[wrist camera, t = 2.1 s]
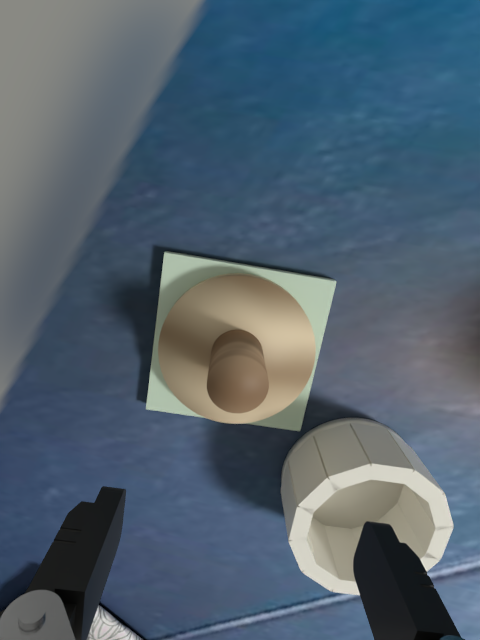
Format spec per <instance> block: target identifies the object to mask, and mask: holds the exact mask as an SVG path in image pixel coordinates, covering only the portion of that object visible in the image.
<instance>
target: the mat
mask: <svg viewBox="0 0 480 640" xmlns="http://www.w3.org/2000/svg"><path fill="white" fill-rule="evenodd" d="M229 273H244V274H252V275H256V276H260V277H263V278H266V279H268V280H271V281H272V282H274V283H276V284H278V285H280V286H281V287H282V288H284V289H285V290H287V291H288V292H289V293H290V294H291V295H292V296H293V297H294V298H295V299H296V301H297V302H298V303H299V304H300V306H301V307H302V309H303V310H304V312H305V314H306V315H307V317H308V319H309V321H310V324H311V326H312V329H313V333H314V337H315V345H316V354H315V362H314V367H313V370H312V373H311V376H310V378H309V380H308V382H307V384H306V386H305V388H304V389H303V391H302V392H301V393H300V394H299V396H298V397H297V398H296V399H295V400H294V401H293V402H292V403H291V404H290V405H289V406H287V407H286V408H285V409H283V410H282V411H280V412H278V413H277V414H275V415H273V416H271V417H268V418H266V419H263V420H260V421H256V422H251V423H245V424H252V425H259V426H266V427H273V428H280V429H287V430H294V431H300V430H301V426H302V422H303V418H304V414H305V409H306V405H307V401H308V397H309V393H310V389H311V385H312V381H313V376H314V372H315V368H316V364H317V360H318V356H319V352H320V348H321V344H322V339H323V335H324V331H325V327H326V323H327V319H328V315H329V311H330V307H331V302H332V298H333V294H334V290H335V286H336V282H337V281H335V280H334V279H329V278H323V277H317V276H311V275H306V274H300V273H294V272H288V271H282V270H276V269H270V268H264V267H258V266H252V265H246V264H241V263H235V262H229V261H223V260H217V259H211V258H205V257H199V256H193V255H187V254H181V253H176V252H170V251H165V252H164V259H163V267H162V276H161V285H160V293H159V302H158V310H157V319H156V327H155V336H154V344H153V353H152V361H151V370H150V378H149V387H148V396H147V404H146V409H148V410H155V411H162V412H169V413H176V414H183V415H189V416H196V417H203V416H200V415H198V414H196V413H195V412H193V411H192V410H190V409H189V408H187V407H186V406H185V405H184V404H182V403H181V402H180V401H179V400H178V399H177V398H176V396H175V395H174V394H173V393H172V391H171V390H170V389H169V387H168V385H167V383H166V381H165V380H164V377H163V374H162V372H161V368H160V364H159V357H158V342H159V337H160V332H161V329H162V326H163V323H164V321H165V319H166V317H167V315H168V313H169V312H170V310H171V308H172V307H173V306H174V304H175V303H176V301H177V300H178V299H179V298H180V297H181V296H182V295H183V294H184V293H185V292H186V291H188V290H189V289H190V288H191V287H193V286H195V285H196V284H198V283H199V282H201V281H204V280H206V279H208V278H211V277H214V276H218V275H223V274H229ZM203 418H205V417H203Z"/></svg>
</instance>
